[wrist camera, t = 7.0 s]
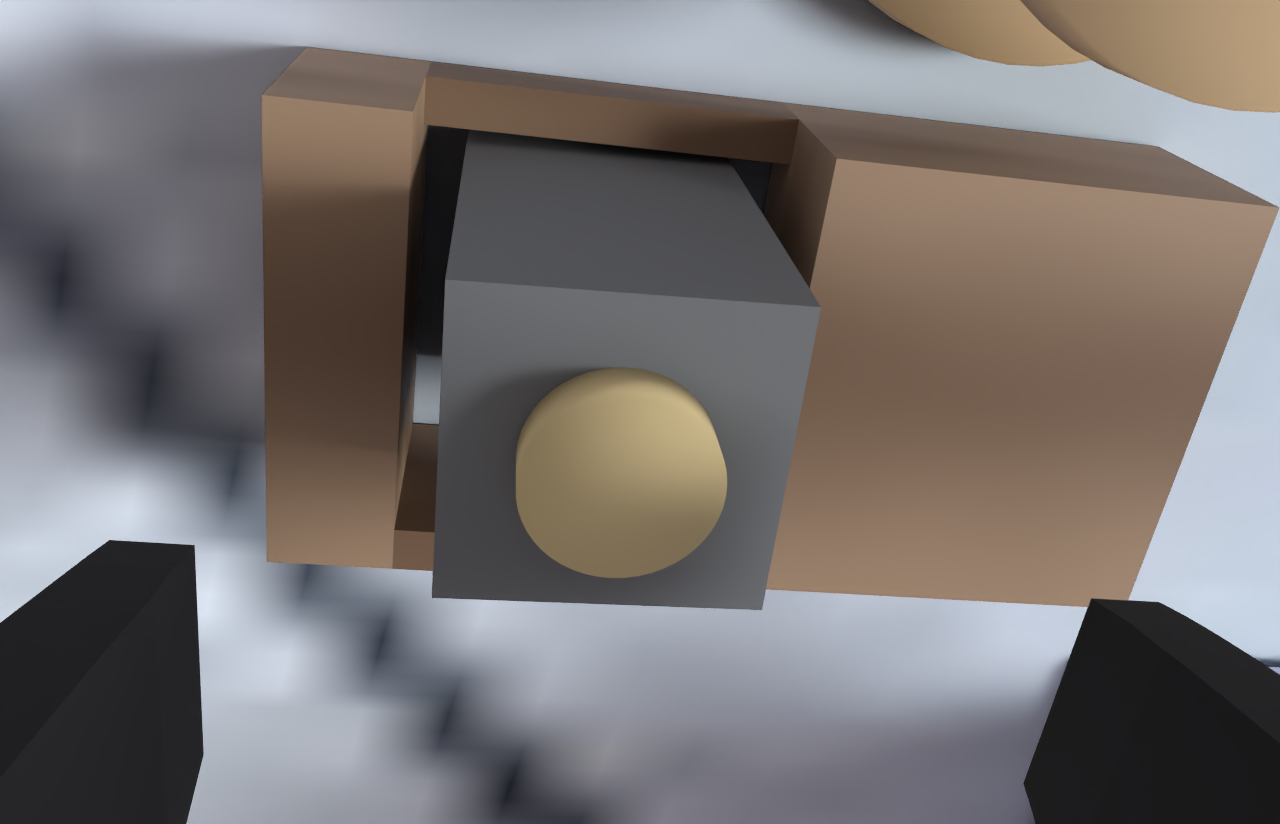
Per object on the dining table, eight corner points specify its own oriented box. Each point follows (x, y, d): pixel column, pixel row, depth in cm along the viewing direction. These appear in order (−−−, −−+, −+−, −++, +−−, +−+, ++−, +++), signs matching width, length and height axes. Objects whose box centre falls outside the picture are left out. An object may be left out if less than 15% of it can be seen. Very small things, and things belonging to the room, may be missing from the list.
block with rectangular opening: (1041, 500, 19) (1124, 609, 17) (304, 450, 18) (266, 562, 15) (1157, 146, 17) (1279, 207, 14) (306, 46, 15) (261, 95, 12)
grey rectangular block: (688, 374, 18) (772, 645, 12) (458, 359, 17) (428, 633, 11) (722, 147, 16) (837, 332, 10) (469, 124, 16) (441, 304, 10)
